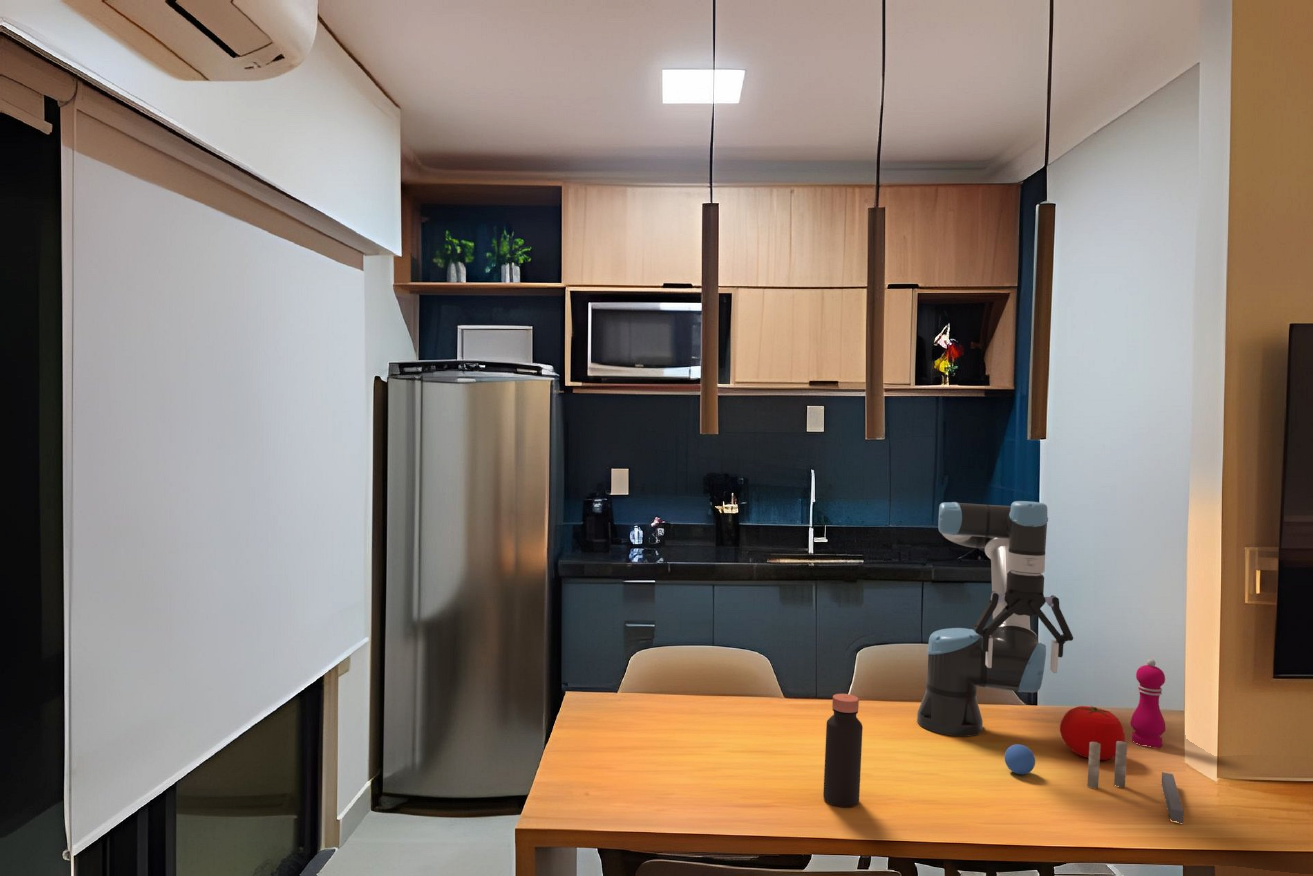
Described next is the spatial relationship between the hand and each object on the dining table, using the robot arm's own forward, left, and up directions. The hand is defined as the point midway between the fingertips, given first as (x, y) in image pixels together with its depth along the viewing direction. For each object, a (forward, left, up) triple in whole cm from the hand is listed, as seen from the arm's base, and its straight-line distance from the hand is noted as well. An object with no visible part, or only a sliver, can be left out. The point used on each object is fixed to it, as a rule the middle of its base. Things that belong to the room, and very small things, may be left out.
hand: (1020, 669), depth 193 cm
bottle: (-29, -40, -21) cm, 54 cm away
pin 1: (+15, -7, -20) cm, 26 cm away
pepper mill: (+27, +29, -21) cm, 44 cm away
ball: (+1, -7, -17) cm, 19 cm away
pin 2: (+20, -3, -20) cm, 29 cm away
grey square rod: (+29, -7, -20) cm, 36 cm away
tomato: (+15, +13, -21) cm, 28 cm away
